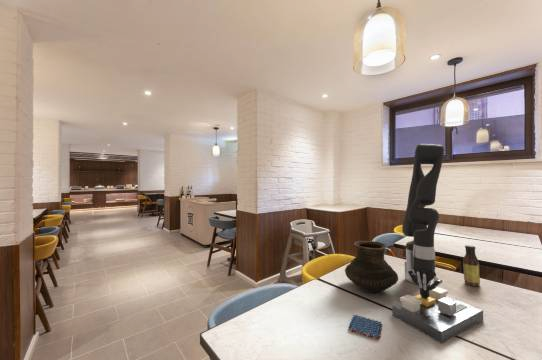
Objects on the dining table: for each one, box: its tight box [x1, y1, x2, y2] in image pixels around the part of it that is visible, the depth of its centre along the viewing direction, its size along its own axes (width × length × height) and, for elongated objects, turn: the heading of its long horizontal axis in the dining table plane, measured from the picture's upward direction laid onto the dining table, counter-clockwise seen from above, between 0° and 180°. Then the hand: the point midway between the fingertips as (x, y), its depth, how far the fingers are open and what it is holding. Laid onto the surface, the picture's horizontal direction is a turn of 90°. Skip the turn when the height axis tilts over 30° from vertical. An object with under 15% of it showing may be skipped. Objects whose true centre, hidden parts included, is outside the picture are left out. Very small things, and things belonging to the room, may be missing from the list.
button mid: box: [413, 293, 436, 307], centre depth 94 cm, size 5×5×6 cm
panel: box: [391, 295, 484, 344], centre depth 90 cm, size 18×28×4 cm, turn 116°
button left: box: [399, 294, 422, 313], centre depth 90 cm, size 5×5×6 cm
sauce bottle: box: [462, 244, 481, 287], centre depth 119 cm, size 7×6×20 cm
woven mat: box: [347, 314, 383, 341], centre depth 84 cm, size 10×11×2 cm
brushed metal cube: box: [438, 298, 456, 316], centre depth 86 cm, size 4×4×4 cm
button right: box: [429, 286, 449, 300], centre depth 98 cm, size 5×5×6 cm
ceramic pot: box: [344, 240, 399, 294], centre depth 114 cm, size 24×24×22 cm
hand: (424, 297), depth 94 cm, fingers closed
